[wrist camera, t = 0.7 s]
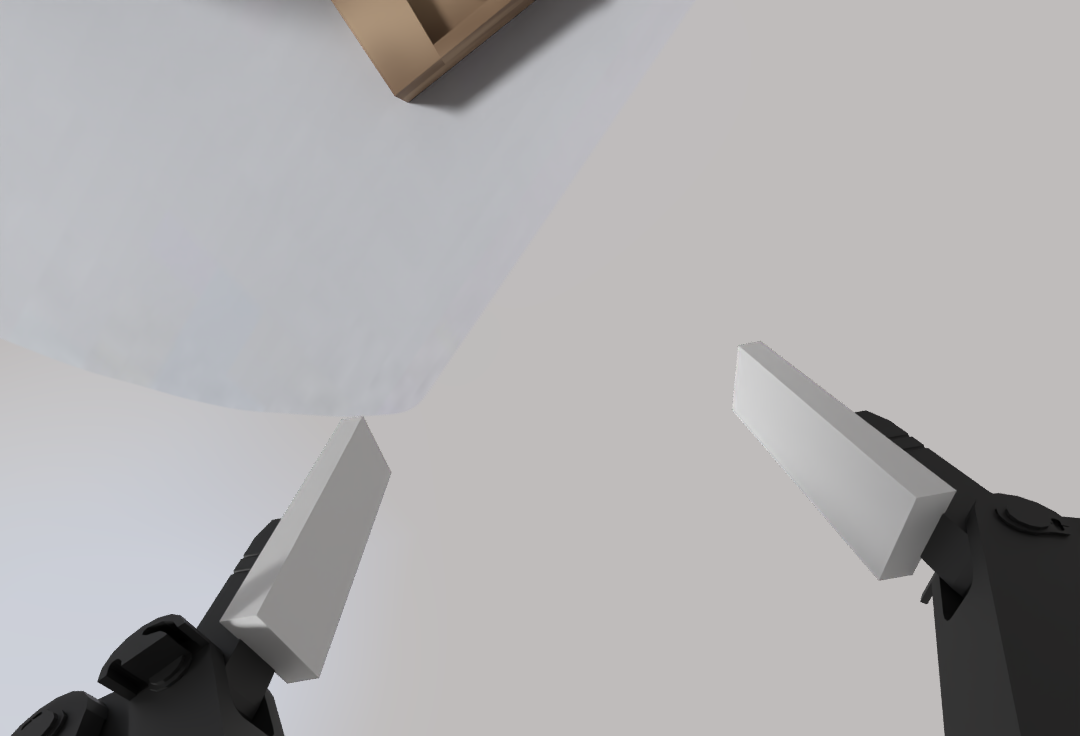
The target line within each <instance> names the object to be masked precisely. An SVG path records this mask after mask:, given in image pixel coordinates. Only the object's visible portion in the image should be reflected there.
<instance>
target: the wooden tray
mask: <svg viewBox="0 0 1080 736" xmlns="http://www.w3.org/2000/svg"><path fill="white" fill-rule="evenodd" d="M331 1H332V2H333V4H334V5H335V7H336V8H337V10H338V11H339V13H340V14H341V16H342V17H343V19H344V20H345V22H346V23H347V25H348V26H349V28H350V29H351V31H352V32H353V34H354V35H355V37H356V38H357V40H358V41H359V43H360V44H361V46H362V47H363V49H364V50H365V52H366V53H367V55H368V57H369V58H370V60H371V61H372V63H373V64H374V66H375V67H376V69H377V70H378V72H379V73H380V75H381V76H382V78H383V79H384V81H385V82H386V84H387V85H388V87H389V88H390V90H391V91H392V93H393V94H394V96H396V97H398V98H400V99H402V100H404V101H406V102H410V101H411V100H412V99H413V98H415V97H416V96H417V95H418V94H420V93H421V92H422V91H423V90H425V89H426V88H427V87H428V86H430V85H431V84H432V83H433V82H435V81H436V80H437V79H438V78H440V77H441V76H442V75H443V74H445V73H446V72H447V71H448V70H450V69H451V68H452V67H453V66H455V65H456V64H457V63H458V62H460V61H461V60H462V59H463V58H464V57H466V56H467V55H468V54H469V53H471V52H472V51H473V50H474V49H476V48H477V47H478V46H479V45H481V44H482V43H483V42H484V41H486V40H487V39H488V38H489V37H491V36H492V35H493V34H494V33H496V32H497V31H498V30H499V29H501V28H502V27H503V26H504V25H506V24H507V23H508V22H509V21H511V20H512V19H513V18H514V17H515V16H517V15H518V14H519V13H520V12H522V11H523V10H524V9H525V8H527V7H528V6H529V5H530V4H532V3H533V2H534V1H535V0H331Z"/></svg>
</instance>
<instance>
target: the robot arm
mask: <svg viewBox="0 0 1080 736" xmlns="http://www.w3.org/2000/svg"><path fill="white" fill-rule="evenodd" d="M732 410H733V411H734V412H735V414H736V415H737V416H738V417H739V418H740V420H741V421H742V422H743V423H744V424H745V425H746V427H748V429H749V430H750V431H751V432H752V433H753V435H754V436H755V437H756V438H757V439H758V441H759V442H760V443H761V444H762V445H763V446H764V447H765V449H766V450H767V451H768V452H769V453H770V454H771V456H772V457H773V458H774V459H775V460H776V461H777V462H778V464H779V465H780V466H781V467H782V468H783V470H784V471H785V472H786V473H787V474H788V475H789V477H790V478H791V479H792V480H793V481H794V482H795V484H796V485H797V486H798V487H799V488H800V489H801V490H802V492H803V493H804V494H805V495H806V496H807V498H808V499H809V500H810V501H811V502H812V503H813V505H814V506H815V507H816V508H817V509H818V510H819V511H820V513H821V514H822V515H823V516H824V517H825V519H826V520H827V521H828V522H829V523H830V524H831V526H832V527H833V528H834V529H835V530H836V531H837V532H838V534H839V535H840V536H841V537H842V538H843V539H844V541H845V542H846V543H847V544H848V545H849V546H850V548H851V549H852V550H853V551H854V552H855V553H856V555H857V556H858V557H859V558H860V559H861V560H862V562H863V563H864V564H865V565H866V566H867V567H868V569H869V570H870V571H871V572H872V573H873V574H874V576H875V577H876V578H877V579H878V580H885V579H890V578H897V577H902V576H907V575H913V573H914V571H915V569H916V567H917V565H918V563H919V561H920V559H921V558H922V559H923V560H924V561H925V562H926V563H927V564H928V565H929V566H930V567H931V568H932V569H933V570H934V571H935V573H934V575H933V576H932V578H931V580H930V582H929V583H928V585H927V587H926V589H925V590H924V592H923V594H922V597H921V602H922V603H925V604H928V602H929V600H930V599H931V597H932V596H933V605H934V617H935V629H936V640H937V652H938V663H939V675H940V686H941V698H942V709H943V721H944V732H945V736H1080V518H1072V517H1061V516H1060V515H1059V514H1057V513H1056V512H1054V511H1052V510H1050V509H1048V508H1046V507H1044V506H1042V505H1041V504H1039V503H1037V502H1033V501H1030V500H1027V499H1024V498H1021V497H1018V496H1013V495H1006V494H1000V493H996V494H992V493H991V492H989V491H987V490H986V489H985V488H983V487H982V486H980V485H979V484H978V483H976V482H975V481H973V480H972V479H971V478H969V477H968V476H966V475H965V474H964V473H962V472H961V471H959V470H958V469H957V468H955V467H954V466H952V465H951V464H950V463H948V462H947V461H945V460H944V459H943V458H941V457H939V456H938V455H937V454H936V453H934V452H933V451H931V450H930V449H929V448H925V447H924V445H923V444H922V443H920V442H919V441H917V440H916V439H915V438H913V437H909V435H908V433H906V432H905V431H903V430H902V429H901V428H899V427H898V426H896V425H895V424H894V423H892V422H891V421H889V420H887V419H884V418H882V417H880V416H878V415H875V414H873V413H871V412H868V411H860V412H855V413H854V412H853V411H851V410H850V409H849V408H848V407H846V406H845V405H844V404H842V403H841V402H840V401H838V400H837V399H836V398H834V397H833V396H832V395H831V394H829V393H828V392H826V391H825V390H824V389H823V388H821V387H820V386H819V385H817V384H816V383H815V382H813V381H812V380H811V379H810V378H808V377H807V376H806V375H804V374H803V373H802V372H801V371H799V370H798V369H797V368H795V367H794V366H792V365H791V364H790V363H789V362H787V361H786V360H785V359H783V358H782V357H781V356H779V355H778V354H777V353H776V352H774V351H773V350H772V349H770V348H769V347H768V346H766V345H765V344H764V343H763V342H761V341H758V342H753V343H748V344H743V345H739V346H738V354H737V364H736V375H735V385H734V396H733V406H732ZM390 475H391V471H390V469H389V467H388V465H387V463H386V461H385V459H384V457H383V455H382V453H381V451H380V449H379V447H378V445H377V443H376V441H375V439H374V437H373V435H372V433H371V431H370V429H369V427H368V425H367V423H366V421H365V419H364V417H363V416H358V417H352V418H347V419H342V420H341V421H340V423H339V425H338V426H337V428H336V429H335V431H334V433H333V434H332V436H331V438H330V439H329V441H328V443H327V444H326V446H325V447H324V450H323V451H322V452H321V454H320V456H319V458H318V459H317V461H316V462H315V464H314V466H313V467H312V469H311V471H310V472H309V474H308V476H307V477H306V479H305V481H304V483H303V484H302V486H301V487H300V489H299V491H298V492H297V494H296V495H295V497H294V499H293V500H292V502H291V504H290V505H289V507H288V509H287V510H286V512H285V514H284V515H283V517H282V518H281V519H275V520H272V521H271V522H270V523H269V524H268V525H267V526H266V527H265V528H264V529H263V530H262V531H261V532H260V533H259V534H258V535H257V536H256V537H255V538H254V540H253V541H252V543H251V545H250V546H249V548H248V550H247V551H246V552H245V554H244V558H243V559H241V560H240V562H239V563H238V565H237V566H236V568H235V569H234V574H233V575H231V576H230V577H229V579H228V580H227V582H226V583H225V585H224V587H223V588H222V590H221V591H220V593H219V594H218V596H217V597H216V599H215V601H214V602H213V604H212V605H211V607H210V609H209V610H208V612H207V613H206V615H205V616H204V618H203V620H202V621H201V622H200V624H199V626H198V627H197V629H196V628H195V627H194V626H193V625H191V624H190V623H189V622H188V621H186V620H185V619H184V618H183V617H182V616H180V615H174V614H170V615H166V616H163V617H160V618H157V619H155V620H153V621H152V622H150V623H148V624H146V625H144V626H143V627H141V628H140V629H139V630H137V631H136V632H135V633H133V634H132V635H131V636H129V637H128V638H127V639H126V640H125V641H124V642H123V643H122V644H121V645H120V646H119V647H118V648H117V649H116V650H115V651H114V652H113V653H112V655H111V656H110V658H109V659H108V660H107V662H106V663H105V665H104V666H103V668H102V670H101V673H100V676H99V679H98V682H99V683H100V684H102V685H104V686H105V687H107V688H109V689H111V690H112V691H114V692H113V693H110V694H108V695H106V696H104V697H102V698H100V699H96V698H94V697H93V696H91V695H89V694H87V693H86V692H84V691H72V692H70V693H67V694H65V695H63V696H60V697H58V698H56V699H54V700H53V701H51V702H50V703H48V704H47V705H45V706H44V707H42V708H40V709H39V710H38V711H37V712H36V713H34V714H33V715H32V716H31V717H30V718H28V719H27V720H26V721H25V722H24V723H23V724H22V725H20V726H19V728H18V729H17V730H16V731H15V732H14V733H13V734H12V735H11V736H284V733H283V729H282V725H281V722H280V718H279V715H278V711H277V708H276V704H275V700H274V697H273V696H272V694H271V692H270V691H269V690H268V689H267V688H268V686H269V683H270V681H271V679H272V677H273V674H274V672H275V673H277V675H279V676H280V677H281V678H282V679H283V680H284V681H285V682H286V683H293V682H298V681H304V680H310V679H316V678H319V676H320V674H321V671H322V668H323V665H324V662H325V659H326V657H327V653H328V651H329V648H330V645H331V642H332V640H333V637H334V634H335V631H336V628H337V626H338V623H339V620H340V617H341V614H342V611H343V609H344V605H345V603H346V600H347V597H348V594H349V591H350V588H351V586H352V583H353V580H354V577H355V574H356V572H357V569H358V566H359V563H360V560H361V557H362V554H363V552H364V549H365V546H366V543H367V540H368V538H369V535H370V532H371V529H372V526H373V523H374V521H375V517H376V515H377V512H378V509H379V506H380V504H381V501H382V498H383V495H384V492H385V489H386V486H387V484H388V481H389V478H390Z"/></svg>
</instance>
